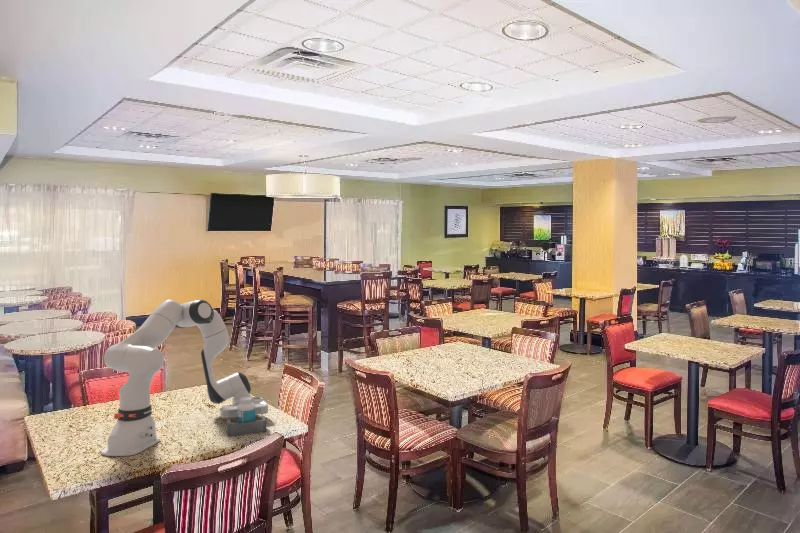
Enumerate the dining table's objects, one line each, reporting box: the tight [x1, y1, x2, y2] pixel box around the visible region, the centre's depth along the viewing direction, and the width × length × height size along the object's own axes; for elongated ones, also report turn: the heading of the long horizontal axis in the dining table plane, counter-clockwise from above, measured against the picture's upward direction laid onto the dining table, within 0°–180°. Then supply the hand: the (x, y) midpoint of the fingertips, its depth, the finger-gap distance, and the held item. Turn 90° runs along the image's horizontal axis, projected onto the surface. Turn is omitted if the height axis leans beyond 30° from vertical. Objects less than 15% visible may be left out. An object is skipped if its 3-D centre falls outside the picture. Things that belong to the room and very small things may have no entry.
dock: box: [226, 415, 267, 437], centre depth 235 cm, size 7×15×5 cm, turn 109°
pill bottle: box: [236, 396, 257, 422], centre depth 237 cm, size 8×7×14 cm
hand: (245, 415), depth 241 cm, fingers closed, pressing on pill bottle
